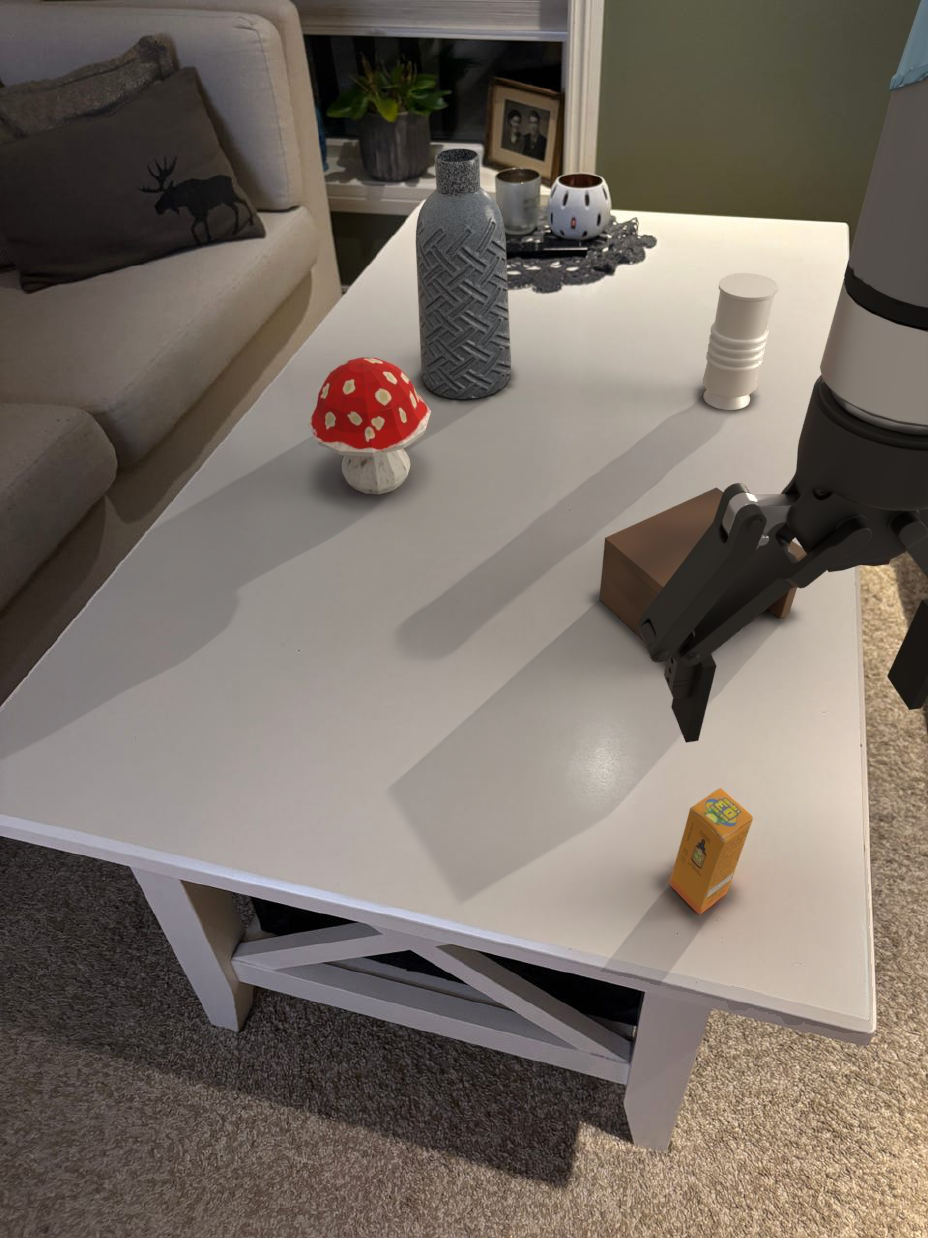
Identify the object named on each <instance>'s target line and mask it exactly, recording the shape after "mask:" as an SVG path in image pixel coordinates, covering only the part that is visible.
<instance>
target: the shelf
mask: <svg viewBox="0 0 928 1238" xmlns="http://www.w3.org/2000/svg"><path fill="white" fill-rule="evenodd" d="M723 492H724V491H722V490H721V489H719V488H718V487H717V486H716V487H714V488H711V489H710V490H708V491H705V492H702V493H701V494H698V495H696V496H694V497H692V498H690V499H688V500H685V501H682V502H681V503H678V504H676V505H674V506H673V507H672V506H671V507H670V508H668V509H665V510H663V511H661V512H658V513H656V514H654V515H652V516H650V517H648V518H646V519H643V520H641V521H639V522H636V523H634V524H632V525H630V526H628V527H625V528H623V529H621V530H619V531H616V532H614V533H612V534H610V535H608V536H606V537H604V543H603V554H602V566H601V576H600V585H599V586H600V587H599V595H598V596H599V597H598V599H599V601H600V602H602V604H604V605H605V606H606V607H607V608H608V609H609V610H610V611H611V612H612V613H614V614H615V615H616V616H617V617H618V618H619V619H620V620H621V621H622V622H623V623H624V624H625V625H626V626H627V627H629V628H630V629H631V630H632V631H633V632H634V633H635V634H636V635H637V636H638V637H639V638H641V639H642V636H641V634H640V631H639V629H638V626H637V623H638V621H639V619H640V618H641V616H642V615H643V614H644V612H645V611H646V610H647V608H648V607H649V606H650V604H651V603H652V602H653V601H654V599H655V598H656V597H657V595H658V594H659V593H660V591H661V590H662V589H663V587H664V586H665V585H666V583H667V582H668V581H669V579H670V578H671V577H672V575H673V574H674V573H675V572H676V570H677V569H678V568H679V566H680V565H681V564H682V562H683V561H684V560H685V558H686V557H687V556H688V554H689V553H690V552H691V550H692V549H693V548H694V546H695V545H696V544H697V542H698V541H699V540H700V539H701V537H702V536H703V535H704V533H705V532H706V531H707V529H708V528H709V527H710V525H711V524H712V523H713V521H714V518H715V515H716V512H717V509H718V506H719V503H720V500H721V497H722V494H723ZM759 546H760V545H758V546H757V548H758V547H759ZM757 548H756V549H757ZM790 549H791V550H792V552H793V553H794V555H795V556H796V558H797V560H798V561H800V560H801V559H802V558H803V557H805V556H806V555H807V554H806V552H805V551H804V549H803V548H802V547H801V545H800V544H799V543H796V542H795V541H793V540H792V541H791V543H790ZM797 590H798V588H796V587H794V588H792V589H790V590H789V591H788V592H787V593H786V594H784V595H783V596H782V597H781V598H779V599H778V600H777V601H776V602H774V603H773V604H772V605H771V606H769V607H768V608H767V609H766V610H769V611H770V612H771V613H772V614H773V615H775V616H776V617H777V618H779V619H783V618H786V617H787V616H788V615H790V612H791V609H792V606H793V603H794V601H795V596H796V593H797Z"/></svg>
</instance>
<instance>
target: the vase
mask: <svg viewBox="0 0 928 1238" xmlns="http://www.w3.org/2000/svg"><path fill="white" fill-rule="evenodd" d="M480 164H481V163H480V154H479V152H478V151H476V150H474V149H470V148H461V147H459V148H450V149H444V150H441V151H440V152H437V153H436V154H435V156H434V170H435V186H436V187H435V190H433V192H431V194H430V195H428V197H427V198H426V199H425V200H424V201H423V204H422V205H421V208H420V209H419V212H418V216H417V220H416V226H415V227H416V228H415V260H416V262H415V263H416V282H417V303H418V304H417V305H418V324H419V325H418V328H419V329H418V330H419V344H420V345H419V348H420V369H421V377H422V380H423V382H424V385H425V386H426V387H427V388H428V389H429V391H431V392H433V393H434V394H436V395H439V396H441V397H445V398H450V399H457V400H458V399H459V400H470V399H477V398H482V397H487V396H489V395H492V394H494V393H496V392H498V391H500V390H501V389H503V388H504V387H505V386H506V385H507V384H508V382H509V379H510V377H511V374H512V355H511V333H510V332H511V331H510V310H509V309H510V307H509V285H508V284H509V283H508V263H507V260H508V259H507V240H506V239H507V238H506V230H505V224H504V217H503V215H502V212H501V210H500V209H501V208H500V207H499V205H498V203H497V202H496V200H495V198H493V196H491V194H489V193H488V191H486V190H485V189H484V188H483V187H482V186H481V168H480Z"/></svg>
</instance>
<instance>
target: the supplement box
mask: <svg viewBox="0 0 928 1238" xmlns="http://www.w3.org/2000/svg"><path fill="white" fill-rule="evenodd" d="M753 820H754V816H753V815H752V814H751V813H750V812H749V811H748V810H746V809H745V808H744V807H743V806H742V805H741V804H740V803H739V802H738V801H736V800H735V799H734V798H733V797H732V796H731V795H730V794H729V793H728V792H726V790H724V789H723V788H722V787H719V788H718V789H716V790H714V791H713V792H711V793H709V794H708V795H707V796H706V797H704V798H702V799H701V800H700V801H698V802H697V803H695V804H693V805H692V806H690V807H689V810H688V814H687V818H686V822H685V827H684V830H683V832H682V833H683V834H682V837H681V840H680V843H679V847H678V852H677V855H676V857H675V862H674V866H673V869H672V872H671V876H670V879H669V885H670V887H671V888H672V889H673V890H674V891H676V893H677V894H678V895H679V896H680V897H681V898H682V899H683V900H684V901H685V902H686V903H687V904H688V905H689V906H690V907H691V908H692V910H693V911H694V912H695V913H696V914H698V915H702V914H703V913H704V912H705V911H707V910H708V909H709V908H711V907H712V906H714V904H715V903H717V902H718V901H720V899H722V898H723V897H724V896H725V895H727V894H728V891H729V888H730V886H731V883H732V880H733V877H734V875H735V872H736V869H737V866H738V864H739V860H740V857H741V854H742V852H743V848H744V846H745V843H746V840H747V838H748V834H749V831H750V829H751V826H752V822H753Z"/></svg>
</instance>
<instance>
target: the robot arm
mask: <svg viewBox="0 0 928 1238" xmlns="http://www.w3.org/2000/svg"><path fill="white" fill-rule="evenodd" d="M888 91H889V92H890V97H889V102H888V106H887V110H886V114H885V118H884V122H883V125H882V130H881V135H880V136H879V137H880V138H879V141H878V145H877V149H876V153H875V156H874V161H873V165H872V169H871V172H870V175H869V179H868V184H867V187H866V191H865V196H864V199H863V203H862V205H861V206H862V208H861V211H860V214H859V219H858V222H857V226H856V229H855V234H854V237H853V241H852V245H851V249H850V253H849V257H848V259H847V264H846V267H845V270H844V274H843V280H842V284H841V288H840V292H839V295H838V298H837V301H836V306H835V309H834V313H833V316H832V320H831V324H830V329H829V332H828V335H827V336H828V337H827V339H826V343H825V346H824V350H823V354H822V358H821V361H820V365H819V370H820V375H819V376H818V378H817V379H815V382H814V384H813V387H812V391H811V395H810V398H809V402H808V405H807V409H806V413H805V416H804V420H803V424H802V428H801V431H800V435H799V438H798V442H797V443H798V444H797V453H796V465H795V466H796V467H795V471H794V475H793V477H792V478H791V480H790V481H789V482H788V484H787V485H786V486H785V487H784V489H782V491H781V492H780V493H769V494H768V493H767V494H751V492H750V490H749V488H747V486H746V485H745V484H744V483H741V482H736V483H732V484H730V485H728V486H727V487H726V488H724V491H722V492H723V494H722V497H721V500H720V503H719V506H718V509H717V512H716V515H715V518H714V521H713V523H712V524H711V525H710V527H709V528H708V529H707V531H706V532H705V533H704V535H703V536H702V537H701V539H700V540H699V541H698V542H697V544H696V545H695V546H694V548H693V549H692V550H691V552H690V553H689V554H688V556H687V557H686V558H685V560H684V561H683V562H682V564H681V565H680V566H679V568H678V569H677V570H676V572H675V573H674V574H673V575H672V577H671V578H670V579H669V581H668V582H667V583H666V585H665V586H664V587H663V589H662V590H661V591H660V593H659V594H658V595H657V597H656V598H655V599H654V601H653V602H652V603H651V604H650V606H649V607H648V608H647V610H646V611H645V612H644V614H643V615H642V616H641V618H640V619H639V621H638V623H637V626H638V629H639V631H640V634H641V636H642V638H641V639H642V641H643V643H644V646H645V648H646V651H647V653H648V655H649V658H650V660H651V661H652V662H654V663H663V662H665V667H664V671H663V677H664V680H665V681H666V684H667V686H668V689H669V692H670V694H671V697H672V701H671V706H670V708H671V710H672V712H673V715H674V717H675V720H676V722H677V724H678V727H679V730H680V732H681V734H682V737H683V739H684V742H685V743H686V744H687V743H694V742H699V741H700V740H699V739H700V736H701V733H702V729H703V723H704V719H705V716H706V711H707V706H708V703H709V699H710V694H711V690H712V687H713V682H714V678H715V675H716V670H717V667H718V666H717V663H716V661H715V659H714V657H713V655H712V654H713V653H715V651H717V650H718V649H719V648H720V647H722V646H723V645H724V644H725V643H726V642H728V641H729V640H730V639H731V638H732V637H734V636H735V635H737V634H738V633H739V632H740V631H741V630H743V629H744V628H745V627H746V626H747V625H749V624H750V623H751V622H753V621H754V620H755V619H756V618H758V616H760V615H761V614H762V613H764V612H765V611H766V610H768V609H767V608H768V607H769V606H771V605H772V604H773V603H774V602H776V601H777V600H778V599H779V598H781V597H782V596H783V595H784V594H786V593H787V592H788V591H789V590H790V589H792V588H794V587H796V588H797V589H805V588H806V587H808V586H810V585H811V584H812V583H814V582H815V581H816V580H817V579H818V578H819V577H821V576H822V575H823V574H824V573H826V572H827V573H834V572H841V571H846V570H849V569H852V568H857V567H859V566H865V567H880V566H888V565H889V564H890V562H891V560H893V559H895V558H897V557H900V556H902V555H903V554H904V553H907V554H908V555H909V557H910V558H911V559H912V561H913V562H914V563H915V565H916V567H918V569H919V570H920V571H921V573H922V574H923V576H924V578H926V579H927V580H928V0H920V2H919V5H918V8H917V11H916V14H915V17H914V20H913V23H912V26H911V29H910V32H909V35H908V38H907V40H906V43H905V47H904V49H903V52H902V56H901V58H900V61H899V64H898V67H897V70H896V73H895V74H894V75H893V76H892V77H891V80H890V82H889V88H888ZM794 539H796V540H797V542H798V545H799V546H801V547H802V548H803V549H804V551H805V552H806V554H807V555H806V556H805V557H803V558H802V559H801V560H800V561H798V560H797V558H796V556H795V555H794V553H793V552H792V550H791V549H790V543H791V541H793V540H794ZM758 545H760V546H759V547H758V548H757V546H758ZM756 548H757V549H756ZM887 673H888V674H887V676H886V677H887V679H888V680H889V682H890V683H891V685H892V686H893V688H894V689H895V692H896V693H897V694H898V696H899V697H900V698H901V700H902V702H903V703H904V705H905V706H906V708H907V709H908V711H912V710H913V711H915V710H921V709H922V708H923V706H924V704H925V703H926V701H927V699H928V598H922V599H921V600H920V603H919V605H918V607H917V608H916V612H915V614H914V616H913V618H912V621H911V623H910V625H909V627H908V628H907V631H906V634H905V636H904V637H903V640H902V641H901V644H900V647H899V649H898V651H897V653H896V655H895V658H894V659H893V662H892V664H891V667H890V669H889V671H888V672H887Z"/></svg>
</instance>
